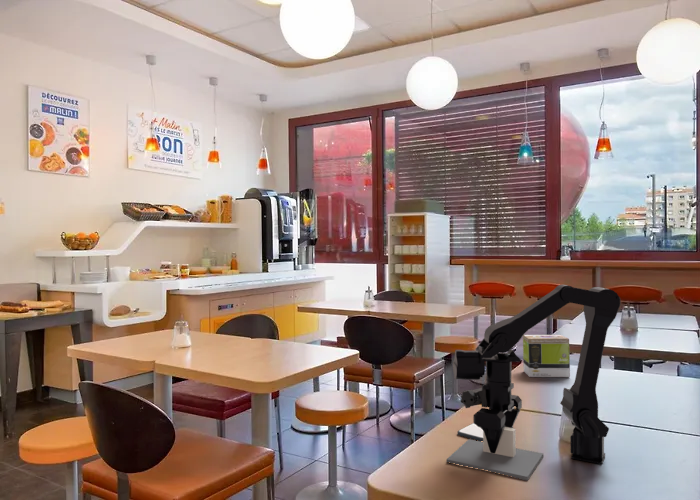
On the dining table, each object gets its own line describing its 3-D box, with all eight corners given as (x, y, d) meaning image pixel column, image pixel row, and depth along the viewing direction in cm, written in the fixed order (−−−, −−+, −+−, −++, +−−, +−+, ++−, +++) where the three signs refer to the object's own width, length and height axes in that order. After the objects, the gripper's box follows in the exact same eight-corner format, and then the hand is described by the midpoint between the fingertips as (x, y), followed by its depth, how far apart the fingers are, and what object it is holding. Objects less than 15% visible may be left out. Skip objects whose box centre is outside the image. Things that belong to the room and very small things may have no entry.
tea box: (562, 372, 211) (562, 334, 211) (570, 378, 201) (570, 338, 201) (522, 371, 213) (522, 333, 213) (528, 377, 203) (528, 337, 203)
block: (483, 451, 128) (483, 425, 128) (485, 448, 130) (485, 423, 130) (513, 457, 124) (513, 431, 124) (515, 454, 126) (515, 428, 126)
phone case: (485, 445, 136) (515, 428, 147) (485, 439, 136) (515, 422, 147) (455, 437, 142) (485, 421, 153) (455, 431, 142) (485, 415, 153)
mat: (543, 456, 127) (543, 453, 127) (527, 480, 114) (527, 476, 114) (468, 442, 136) (468, 439, 136) (446, 462, 123) (446, 459, 123)
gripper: (477, 368, 139) (478, 428, 139) (451, 383, 123) (451, 452, 123) (522, 373, 133) (522, 436, 133) (500, 390, 117) (500, 462, 117)
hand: (498, 446), depth 127 cm, fingers open, 9 cm apart
